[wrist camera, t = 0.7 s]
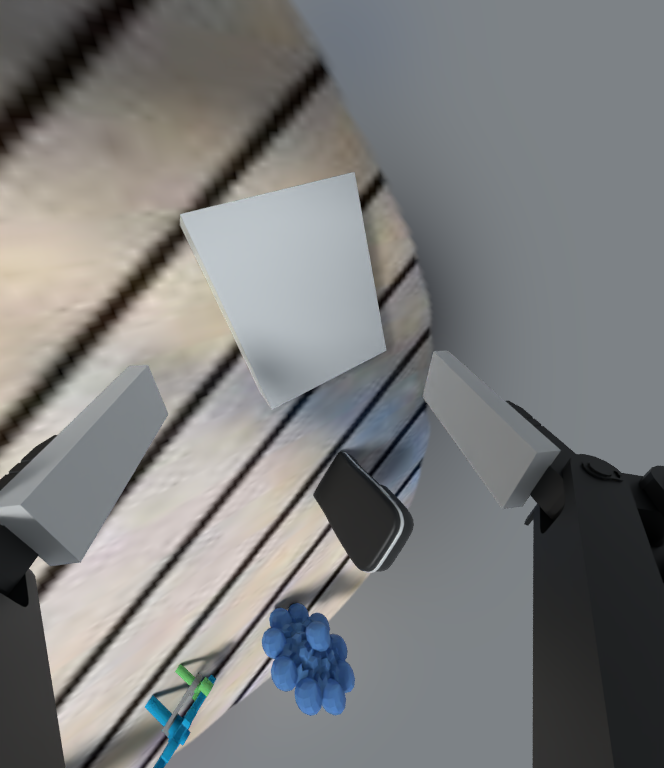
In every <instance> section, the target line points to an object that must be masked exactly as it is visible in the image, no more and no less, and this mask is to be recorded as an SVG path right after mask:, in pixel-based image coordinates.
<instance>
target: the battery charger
mask: <svg viewBox="0 0 664 768" xmlns="http://www.w3.org/2000/svg"><path fill="white" fill-rule="evenodd" d="M313 496H314V498H315V499H316V501H317V502H318V504H319V505H320V507H321V509H322V510H323V512H324V514H325V515H326V517H327V519H328V521H329V523H330V525H331V527H332V528H333V530H334V532H335V534H336V536H337V537H338V539H339V541H340V542H341V544H342V546H343V547H344V549H345V551H346V552H347V554H348V555H349V557H350V558H351V560H352V561H353V563H354V564H355V565H356V566H357V568H359V569H360V570H362V571H364V572H366V573H373V572H375V571H384V570H386V569H388V568H389V567H390V566H391V564H392V563H393V562H394V560H395V558H396V557H397V556H398V554H399V553H400V551H401V550H402V548H403V546H404V545H405V543H406V541H407V540H408V538H409V536H410V535H411V532H412V530H413V526H414V523H413V519H412V516H411V514H410V512H409V511H408V510H407V508H406V507H405V506H404V505H403V504H402V503H401V502H400V500H399V499H398V498H397V497H396V496H395V495H394V494H393V493H392V492H391V491H390V490H389V489H388V488H387V487H386V486H384V485H380V484H379V483H378V482H377V481H376V480H374V479H373V478H372V477H371V476H370V475H369V474H368V473H367V472H366V471H365V470H364V469H363V468H362V467H361V466H360V465H359V464H358V463H357V461H356V460H355V459H354V458H353V457H352V456H351V455H349V454H347V453H346V452H339V453H338V455H337V456H336V458H335V459H334V461H333V462H332V464H331V466H330V467H329V469H328V470H327V472H326V474H325V475H324V477H323V479H322V480H321V482H320V484H319V485H318V487H317V489H316V491H315V493H314V495H313Z"/></svg>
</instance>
